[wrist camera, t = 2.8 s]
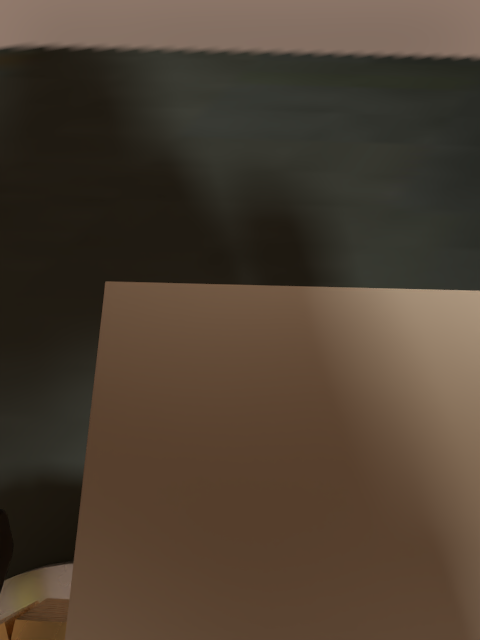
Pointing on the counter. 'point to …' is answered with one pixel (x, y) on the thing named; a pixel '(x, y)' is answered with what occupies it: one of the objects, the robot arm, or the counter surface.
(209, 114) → the counter surface
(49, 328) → the counter surface
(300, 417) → the post
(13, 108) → the counter surface
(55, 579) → the segmented gold bowl
